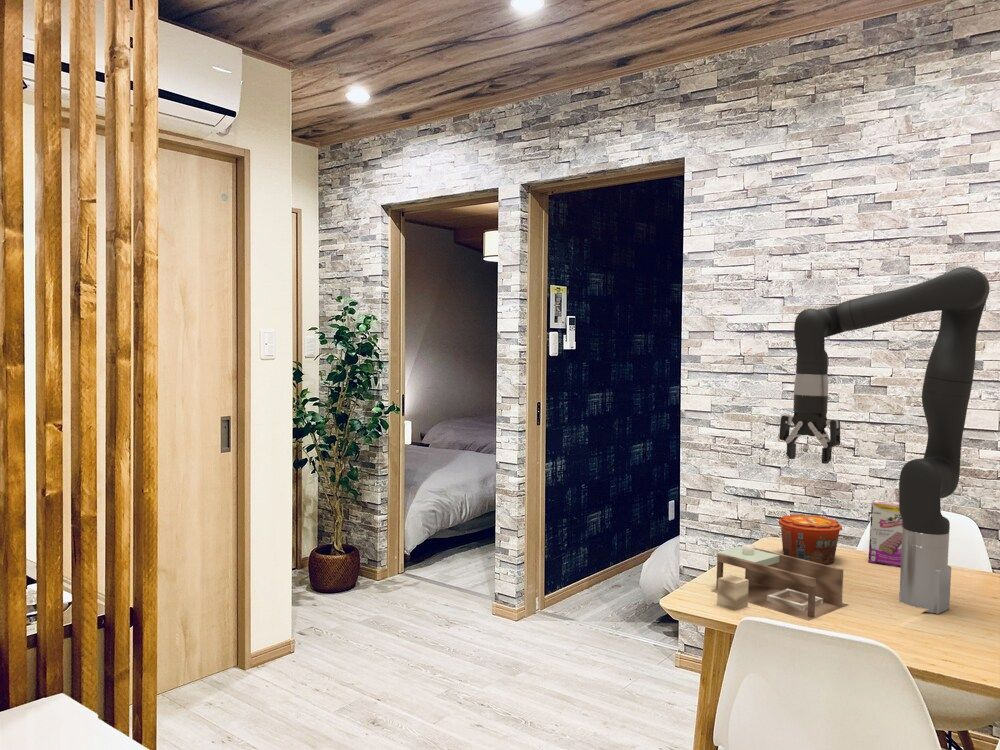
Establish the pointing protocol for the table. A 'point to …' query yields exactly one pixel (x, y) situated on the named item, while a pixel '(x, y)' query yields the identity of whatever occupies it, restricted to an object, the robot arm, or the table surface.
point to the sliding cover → (752, 555)
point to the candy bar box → (885, 533)
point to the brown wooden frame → (790, 585)
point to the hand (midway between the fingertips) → (808, 461)
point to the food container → (810, 537)
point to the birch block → (732, 592)
